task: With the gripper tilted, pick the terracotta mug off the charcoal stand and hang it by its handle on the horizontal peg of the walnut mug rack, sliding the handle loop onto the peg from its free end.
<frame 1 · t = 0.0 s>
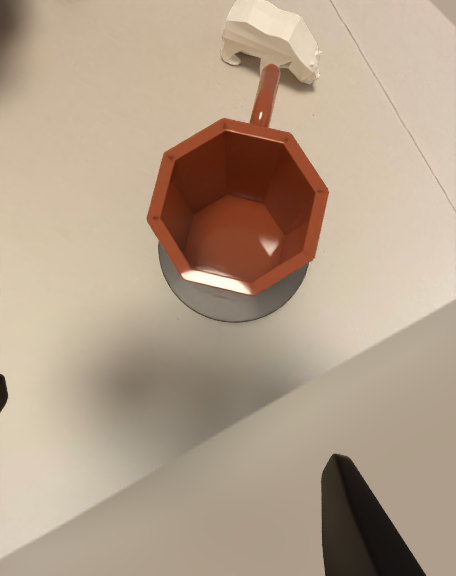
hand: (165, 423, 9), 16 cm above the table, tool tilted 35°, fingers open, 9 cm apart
stand: (233, 256, 25), on the table
mug: (234, 245, 21), point 4 cm above the table, touching stand
figurine: (269, 71, 27), on the table
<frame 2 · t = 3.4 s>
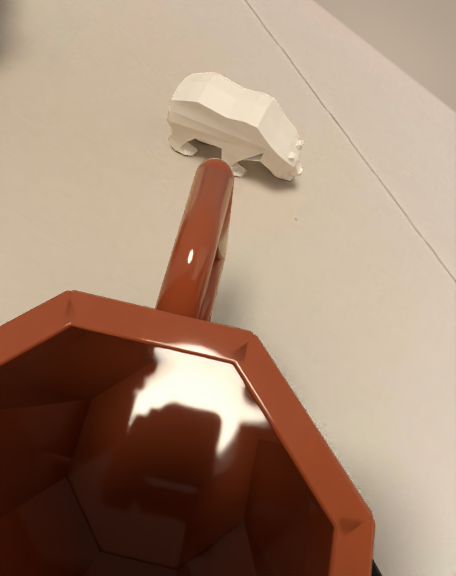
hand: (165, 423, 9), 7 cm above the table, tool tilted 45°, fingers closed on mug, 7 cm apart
mug: (167, 453, 12), point 4 cm above the table, touching gripper, stand
figurine: (235, 163, 20), on the table
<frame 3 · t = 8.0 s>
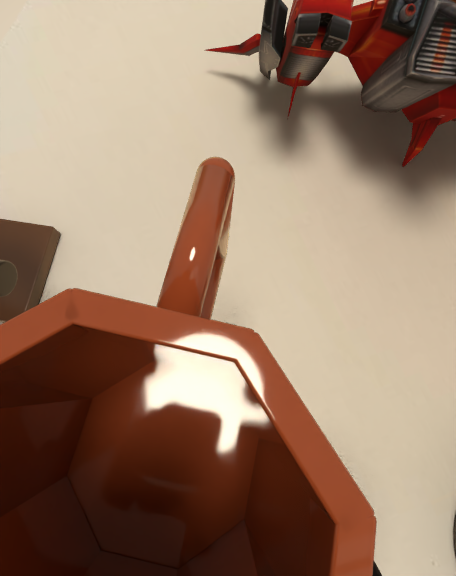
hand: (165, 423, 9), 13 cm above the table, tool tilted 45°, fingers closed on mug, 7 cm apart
mug: (167, 452, 12), point 10 cm above the table, touching gripper
toy spacecraft: (400, 124, 28), on the table
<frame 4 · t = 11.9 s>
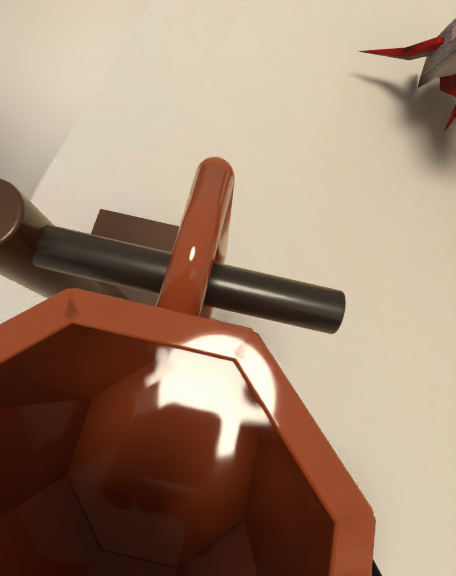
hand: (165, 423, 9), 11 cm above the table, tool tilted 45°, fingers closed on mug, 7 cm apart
mug: (167, 452, 12), point 8 cm above the table, touching gripper
mug rack: (126, 319, 20), on the table
when the fingers open (10 cm above the table, at t = 12.8 s): mug moves 12 cm and tips over, resting on mug rack.
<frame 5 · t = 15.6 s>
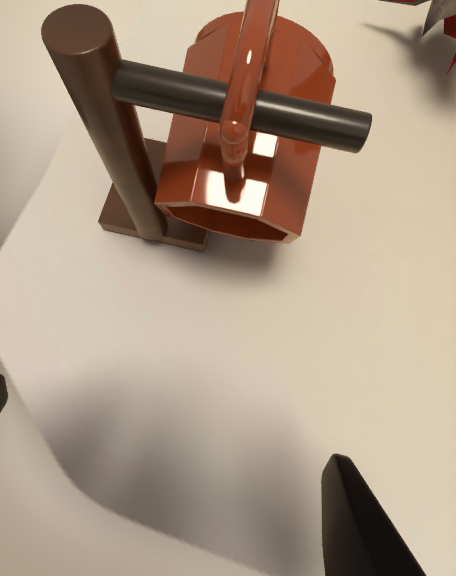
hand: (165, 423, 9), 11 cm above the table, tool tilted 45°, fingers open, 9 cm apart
mug: (262, 70, 17), point 8 cm above the table, tilted 107°, touching mug rack
mug rack: (155, 234, 22), on the table
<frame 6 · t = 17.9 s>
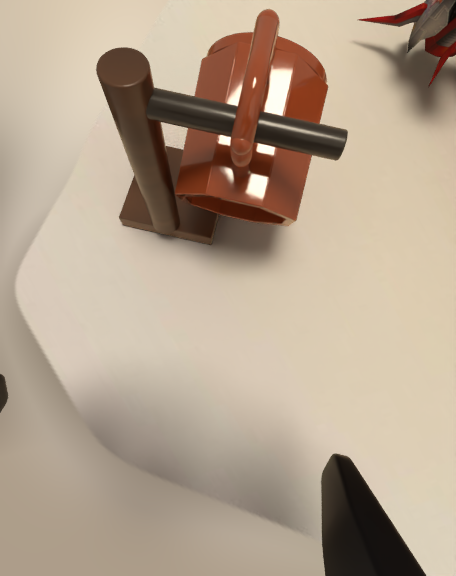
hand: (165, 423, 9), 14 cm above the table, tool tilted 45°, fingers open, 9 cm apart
mug: (265, 75, 19), point 8 cm above the table, tilted 112°, touching mug rack
mug rack: (168, 229, 25), on the table
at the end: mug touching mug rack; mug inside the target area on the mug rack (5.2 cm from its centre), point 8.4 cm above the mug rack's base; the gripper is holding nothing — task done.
